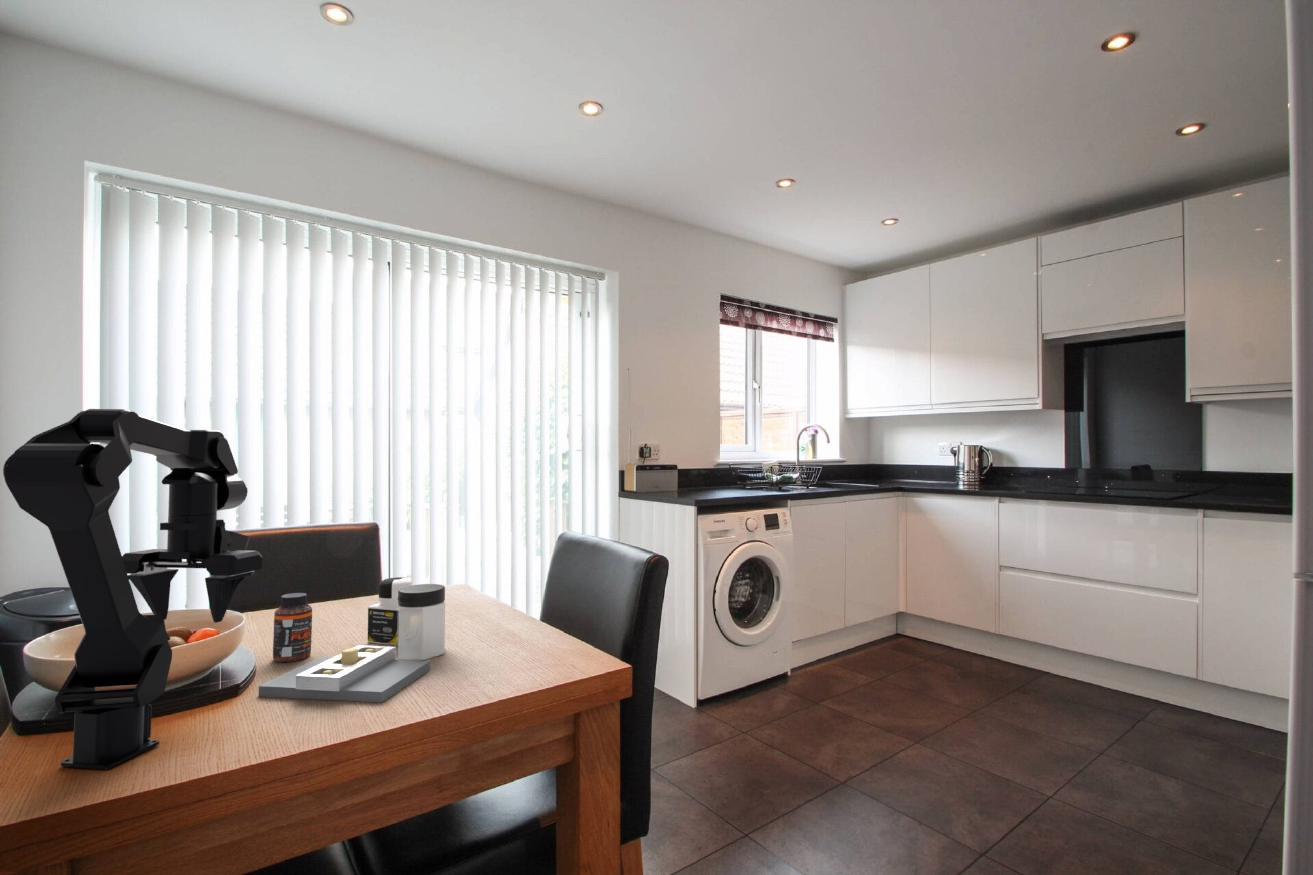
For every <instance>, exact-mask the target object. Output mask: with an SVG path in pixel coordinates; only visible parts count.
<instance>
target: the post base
mask: <svg viewBox="0 0 1313 875" xmlns="http://www.w3.org/2000/svg"><path fill="white" fill-rule="evenodd" d="M366 652H369V653H373V649H367V650H366ZM340 654H341V664H347V665H354V664H356V663H358V649H356V648H354V647H352V648H351V647H350V648H346V649H344V650H341V652H340ZM333 657H334V656H319V657H317V658H316V659H313V660H312V661H309V662H307V663H305V664H303V665H301V666H299V667H296V668H294V669H292V670H290V671H288V672H286V673H284V674H282V675H279V676H277V677H275V678H272V679H271V680H269V681H266V682H265V683H262V684H260V685H259V686H258V697H266V698H270V697H271V698H284V699H285V698H286V699H303V700H304V699H306V700H324V701H325V700H326V701H327V700H328V701H329V700H330V701H345V702H347V701H348V702H364V703H365V702H366V703H368V702H369V703H384V702H385V701H386V700H389V698H391V697H392V696H393V695H395V694H396V693H398V692H400V691H401V690H403V689H404V688H406V687H407V686H409V685H410V684H412V683H413V682H414V681H416V680H418V679H419V678H420V677H422V676H423V675H425V674H426V673H428V672H429V671H430V670H431V660H423V661H421V660H399V659H397V658H396V659H394V660H393V661H391V662H389V663H387V664H386V665H384V666H382V667H380V668H379V669H377V670H375V671H373V672H372V673H370V674H368V675H367V676H365V677H363V678H361V679H360V680H358V681H356V682H354V683H353V684H351V685H349V686H347V687H346V688H344V689H342V690H340V691H321V690H301V689H296V675H298V674H300V673H302V672H304V671H306V670H308V669H311V668H313V667H315V666H317V665H319V664H321V663H323V662H325V661H327V660H329V659H331V658H333ZM323 675H332V670H326V671H324V672H323ZM405 686H406V687H405ZM402 688H403V689H402ZM383 701H384V702H383Z"/></svg>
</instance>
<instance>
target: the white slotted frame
mask: <svg viewBox="0 0 1313 875" xmlns="http://www.w3.org/2000/svg"><path fill="white" fill-rule="evenodd" d="M353 648H356V649H358V663H356V664H354V665H347V664H341V653H340V654H338V655H336V656H332V657H333V658H331V659H329V660H327V661H325V662H323V663H321V664H319V665H317V666H315V667H313V668H311V669H308V670H306V671H304V672H302V673H300V674H298V675H296V689H301V690H321V691H340V690H342V689H344V688H346V687H347V686H349V685H351V684H353V683H354V682H356V681H358V680H360V679H361V678H363V677H365V676H367V675H368V674H370V673H372V672H373V671H375V670H377V669H379V668H380V667H382V666H384V665H386V664H387V663H389V662H391V661H393V660H394V659H396V660H397V646H391V645H389V646H388V645H386V646H385V645H384V646H383V645H363V644H362V645H356V646H354V647H353ZM367 649H373V653H369V652H366V650H367ZM326 670H332V675H323V672H324V671H326Z"/></svg>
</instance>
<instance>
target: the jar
mask: <svg viewBox="0 0 1313 875" xmlns="http://www.w3.org/2000/svg"><path fill="white" fill-rule="evenodd" d="M445 600H446V587H445V586H444V585H442V584H437V583H421V584H412V586H407V587H403V588H401V589H399V590H398V645H397V660H421V661H427V660H429V659H432V658H436V657H439V656H443V655H444V654H445V652H446V651H445V650H446V648H445V647H446V645H445V644H446V641H445V640H446V602H445Z"/></svg>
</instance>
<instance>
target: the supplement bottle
mask: <svg viewBox="0 0 1313 875" xmlns="http://www.w3.org/2000/svg"><path fill="white" fill-rule="evenodd" d="M307 597H308V595H307V593H306V592H305V593H304V592H293V593H286V594H283V595H281V597H280V606H279V607H278V608H276V609H275V610H274V617H273V639H272V640H273V642H272V660H274V661H276V662H279V663H290V662H297V661H301V660H304V659H306V658H308V657H309V656H311V655H312V654H311V652H312V651H311V650H312V633H313V631H312V630H313V608H312V606H311V605H310V604H309V603H308V602H307V601H308V598H307Z"/></svg>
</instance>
